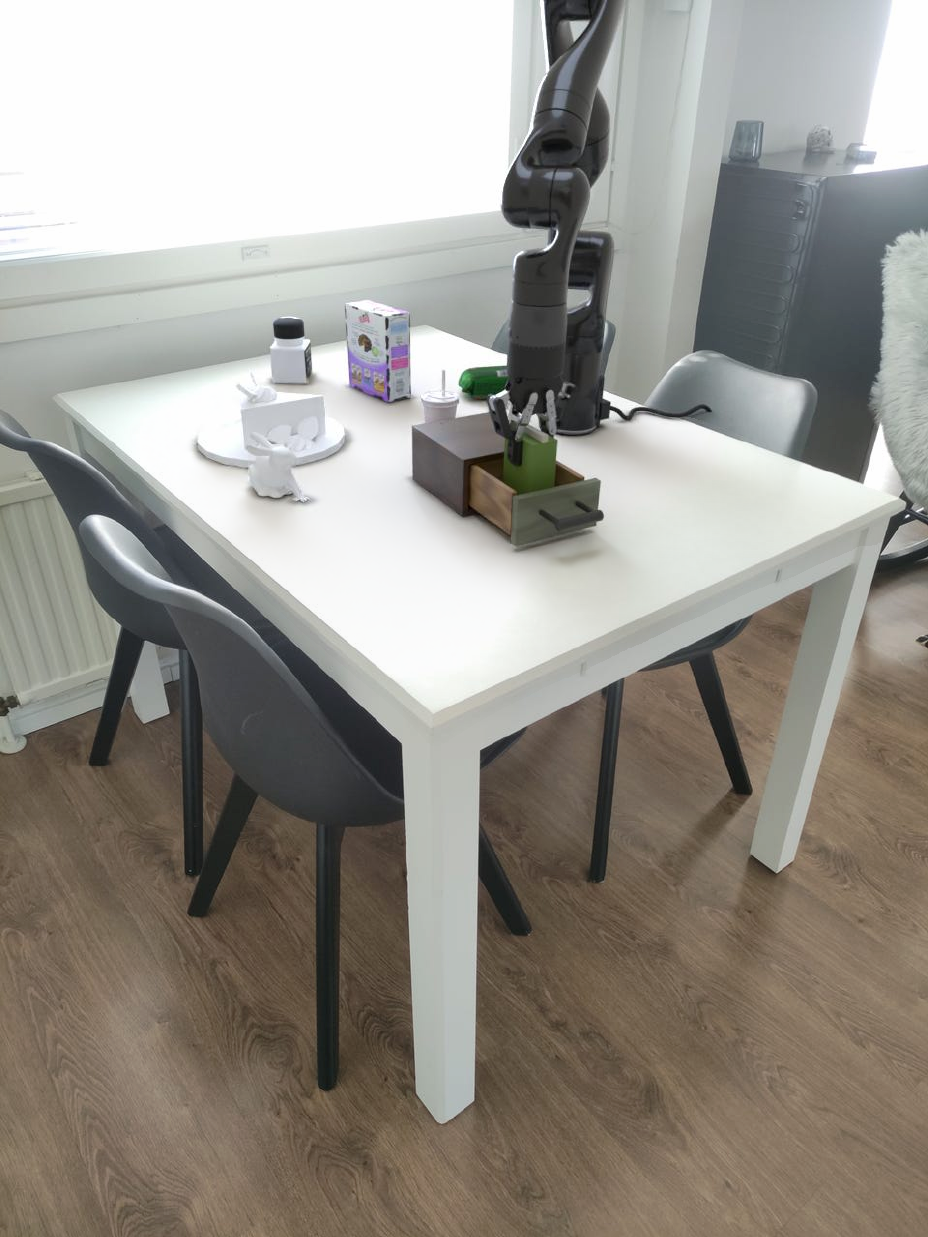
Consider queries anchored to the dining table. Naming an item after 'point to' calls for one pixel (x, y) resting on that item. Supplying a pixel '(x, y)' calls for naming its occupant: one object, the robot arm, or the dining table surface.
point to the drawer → (534, 503)
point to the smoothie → (439, 404)
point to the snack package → (483, 381)
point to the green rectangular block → (532, 463)
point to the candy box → (378, 350)
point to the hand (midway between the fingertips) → (529, 460)
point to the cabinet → (453, 456)
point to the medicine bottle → (290, 352)
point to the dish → (273, 427)
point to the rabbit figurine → (273, 469)
